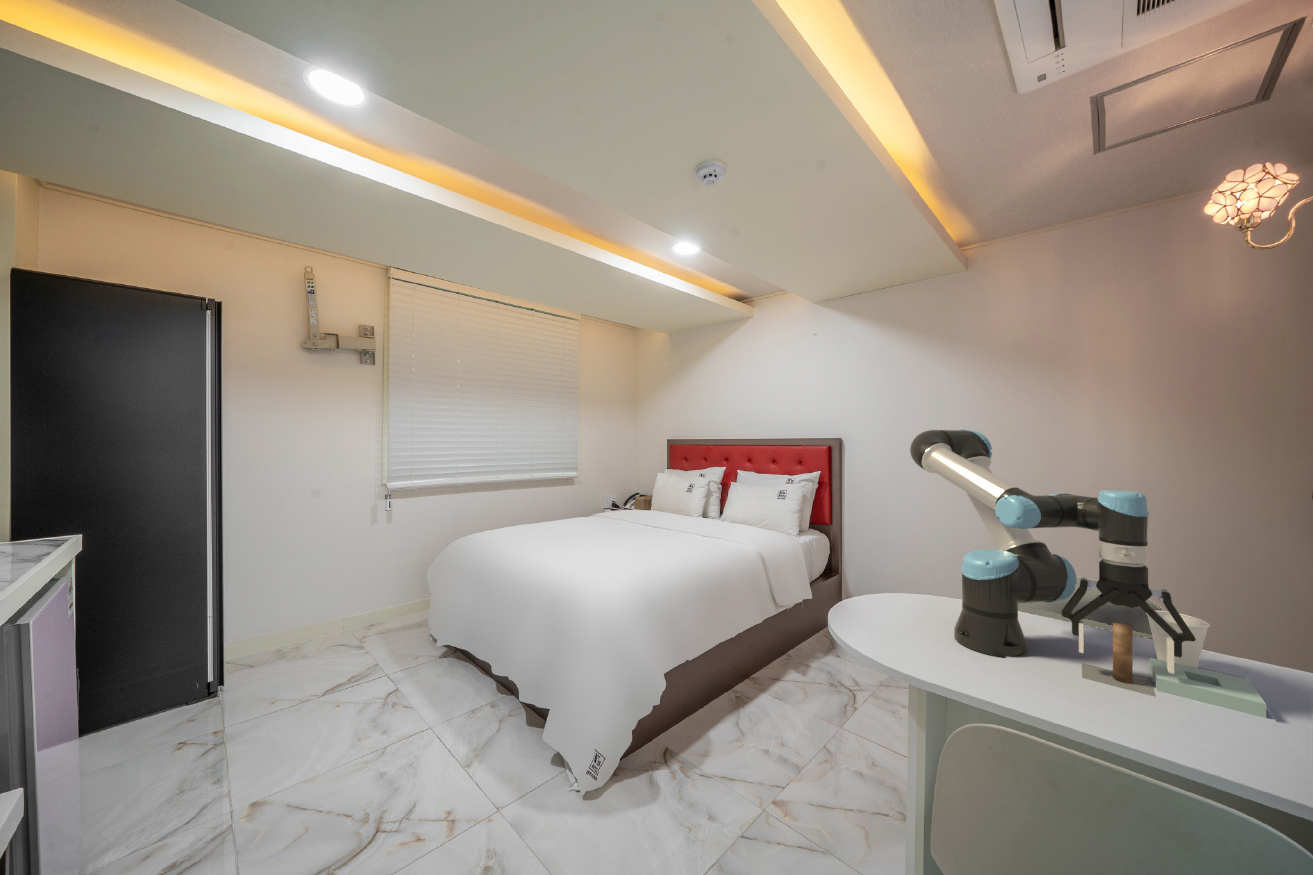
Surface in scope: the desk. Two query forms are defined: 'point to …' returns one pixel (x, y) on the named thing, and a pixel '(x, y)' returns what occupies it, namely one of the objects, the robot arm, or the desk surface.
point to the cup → (1189, 648)
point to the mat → (1107, 678)
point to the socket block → (1208, 687)
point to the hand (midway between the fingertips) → (1123, 660)
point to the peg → (1123, 652)
